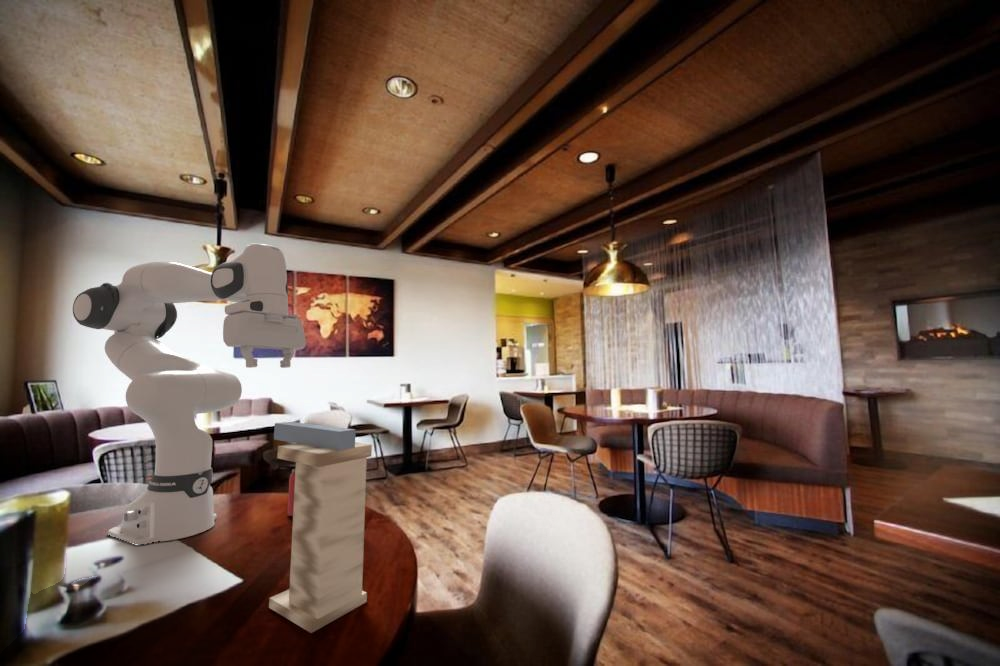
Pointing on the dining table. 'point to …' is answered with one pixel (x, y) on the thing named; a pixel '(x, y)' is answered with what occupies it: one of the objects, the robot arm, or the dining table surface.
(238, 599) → the dining table surface
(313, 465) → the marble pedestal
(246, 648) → the dining table surface
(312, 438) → the block
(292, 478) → the beer can
